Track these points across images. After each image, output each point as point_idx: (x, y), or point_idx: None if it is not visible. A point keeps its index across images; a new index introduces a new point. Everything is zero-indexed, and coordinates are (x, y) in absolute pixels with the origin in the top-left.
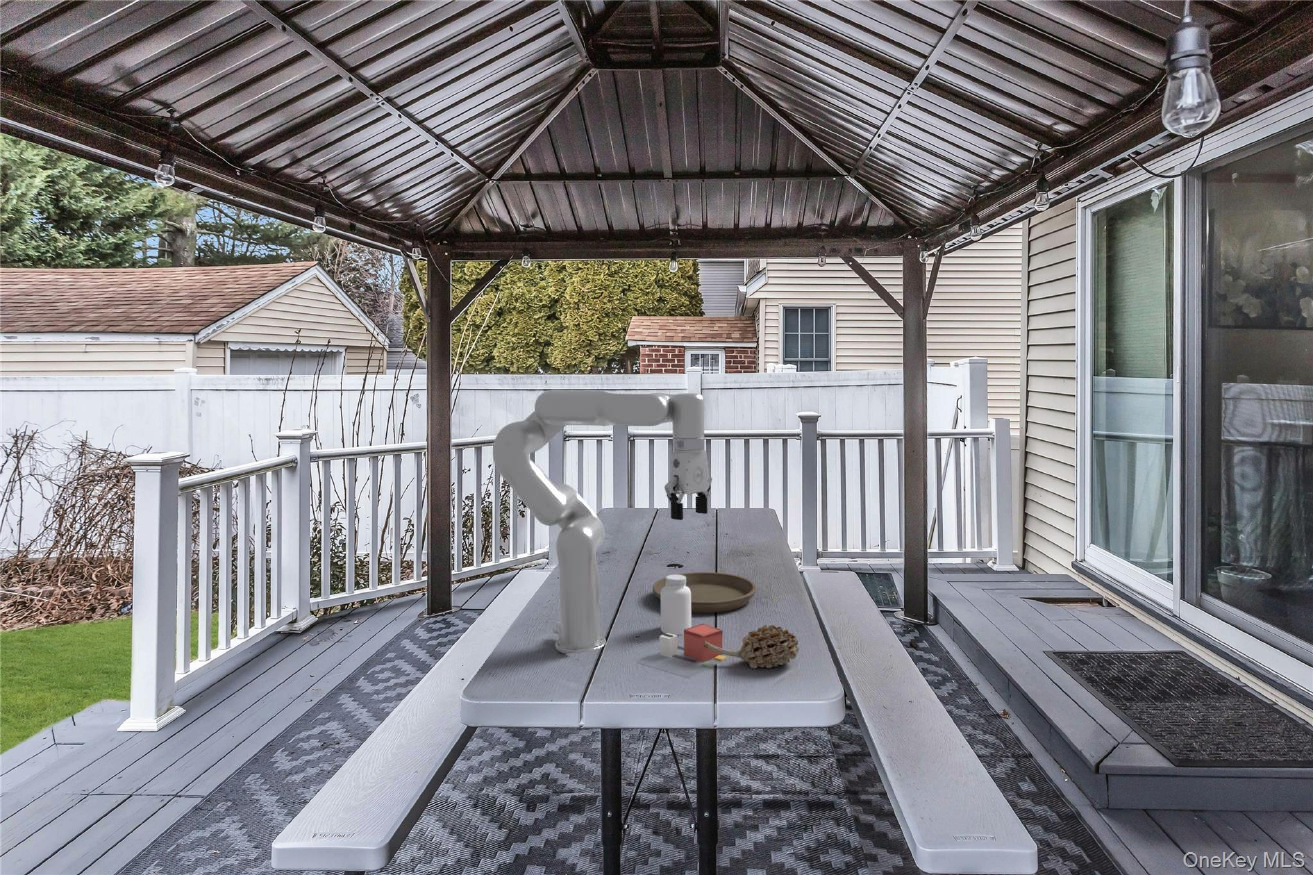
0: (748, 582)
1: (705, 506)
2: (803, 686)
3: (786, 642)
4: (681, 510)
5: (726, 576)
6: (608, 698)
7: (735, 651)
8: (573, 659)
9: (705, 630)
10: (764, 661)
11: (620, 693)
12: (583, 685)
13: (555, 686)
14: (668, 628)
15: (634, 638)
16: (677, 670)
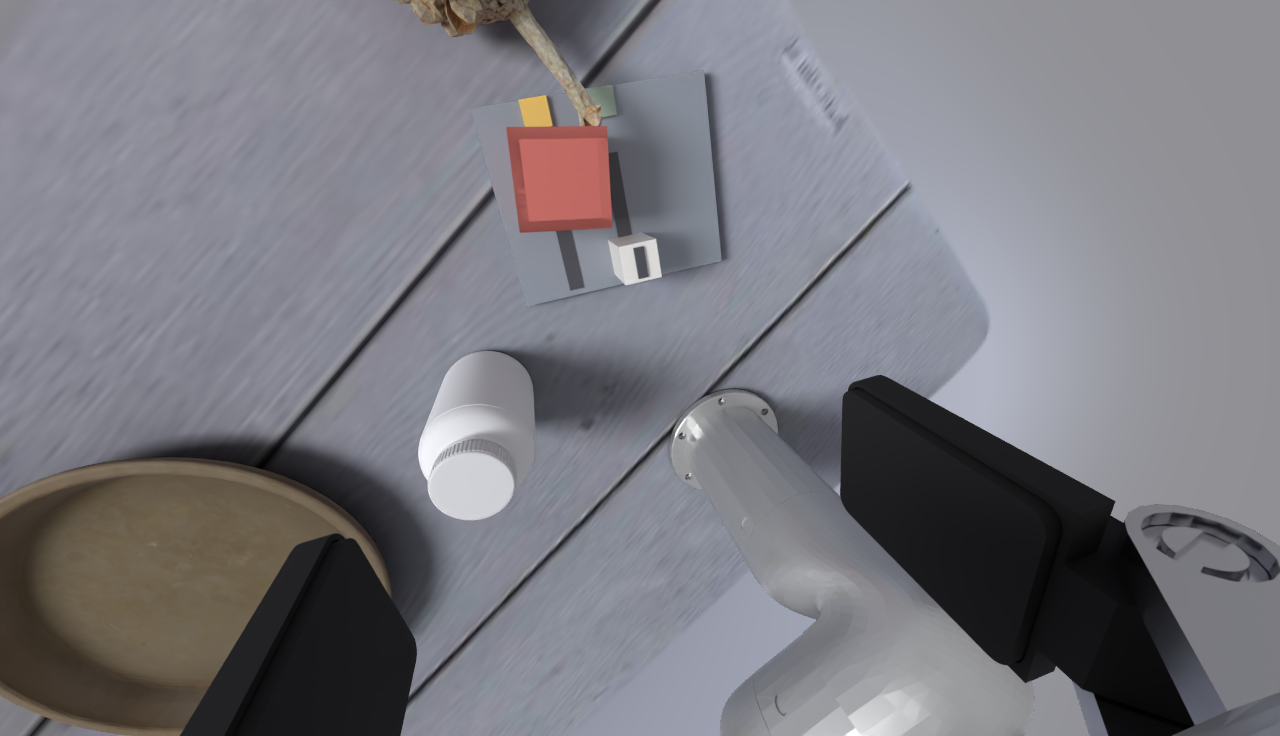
0: None
1: (298, 628)
2: None
3: None
4: (979, 430)
5: (18, 682)
6: (876, 151)
7: (529, 23)
8: (778, 385)
9: (561, 168)
10: None
11: (844, 154)
12: (858, 250)
13: (890, 284)
14: (529, 382)
15: (601, 417)
16: (688, 140)
